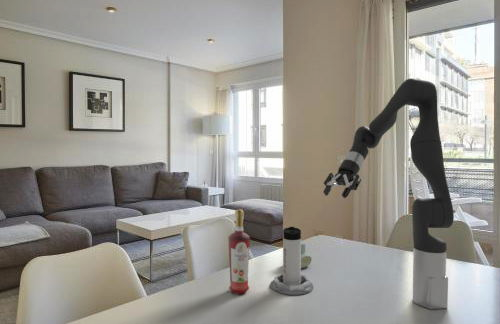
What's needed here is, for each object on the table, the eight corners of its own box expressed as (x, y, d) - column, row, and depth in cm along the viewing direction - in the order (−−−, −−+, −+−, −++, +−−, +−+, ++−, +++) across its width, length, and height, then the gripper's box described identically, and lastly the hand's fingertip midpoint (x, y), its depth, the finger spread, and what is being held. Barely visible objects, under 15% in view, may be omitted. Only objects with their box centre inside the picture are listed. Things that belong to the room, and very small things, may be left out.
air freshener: (296, 271, 136) (296, 246, 136) (281, 266, 143) (281, 242, 142) (314, 265, 143) (314, 242, 143) (299, 260, 150) (299, 238, 149)
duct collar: (319, 293, 116) (319, 286, 116) (276, 296, 113) (276, 289, 113) (304, 277, 130) (304, 270, 130) (266, 279, 128) (266, 272, 128)
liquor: (230, 297, 113) (230, 212, 112) (226, 288, 120) (226, 208, 119) (252, 294, 115) (252, 211, 114) (246, 286, 122) (246, 207, 121)
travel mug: (300, 281, 125) (300, 226, 124) (301, 288, 118) (301, 231, 118) (283, 280, 126) (283, 226, 125) (282, 287, 119) (283, 230, 118)
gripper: (333, 158, 144) (315, 187, 137) (363, 159, 133) (346, 191, 126) (340, 170, 147) (323, 199, 140) (370, 172, 137) (354, 203, 130)
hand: (334, 195), depth 133 cm, fingers open, 8 cm apart
